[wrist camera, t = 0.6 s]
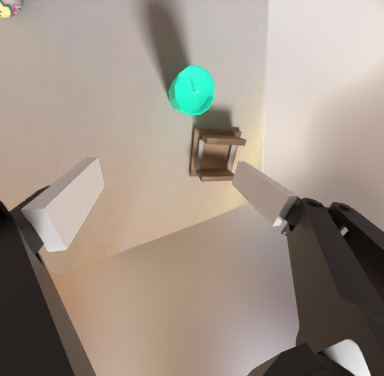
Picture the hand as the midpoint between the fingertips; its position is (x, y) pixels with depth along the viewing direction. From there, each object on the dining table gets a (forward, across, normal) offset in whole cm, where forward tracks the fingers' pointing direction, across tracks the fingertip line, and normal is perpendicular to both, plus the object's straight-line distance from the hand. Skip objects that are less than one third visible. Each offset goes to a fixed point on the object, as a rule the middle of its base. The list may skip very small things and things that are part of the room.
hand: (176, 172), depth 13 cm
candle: (+22, +4, +8) cm, 23 cm away
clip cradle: (+21, +13, -4) cm, 25 cm away
